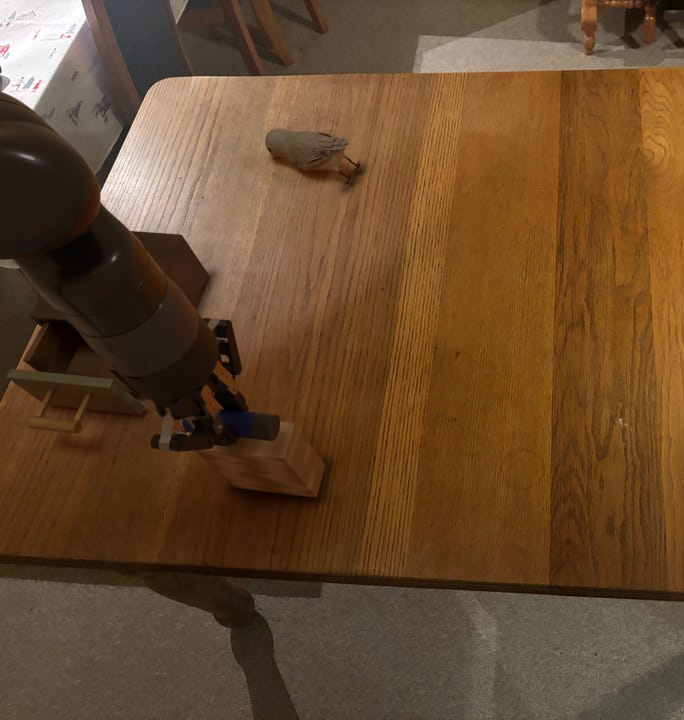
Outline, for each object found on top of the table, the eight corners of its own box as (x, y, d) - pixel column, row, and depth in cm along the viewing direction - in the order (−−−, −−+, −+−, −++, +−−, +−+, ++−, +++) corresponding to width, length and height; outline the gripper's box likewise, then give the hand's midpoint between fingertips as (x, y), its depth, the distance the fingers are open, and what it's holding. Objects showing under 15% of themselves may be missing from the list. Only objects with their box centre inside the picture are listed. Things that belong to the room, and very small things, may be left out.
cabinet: (172, 364, 87) (137, 326, 80) (72, 354, 89) (28, 316, 81) (210, 276, 95) (181, 234, 87) (117, 269, 96) (80, 227, 89)
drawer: (125, 451, 80) (90, 426, 74) (26, 439, 82) (-16, 414, 76) (180, 325, 89) (154, 293, 83) (90, 317, 91) (57, 285, 85)
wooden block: (236, 487, 78) (191, 448, 68) (246, 456, 80) (204, 413, 70) (316, 497, 77) (283, 458, 66) (325, 465, 79) (294, 422, 68)
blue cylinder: (190, 435, 66) (178, 425, 64) (199, 412, 68) (188, 401, 65) (275, 445, 65) (266, 434, 63) (282, 421, 67) (274, 410, 64)
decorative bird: (282, 145, 108) (266, 106, 101) (368, 168, 104) (357, 130, 97) (264, 167, 105) (247, 129, 99) (351, 192, 101) (339, 154, 95)
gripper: (140, 257, 55) (222, 362, 70) (63, 406, 48) (172, 488, 63) (224, 264, 54) (289, 369, 69) (159, 417, 47) (247, 497, 62)
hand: (233, 425), depth 66 cm, fingers closed on blue cylinder, 2 cm apart
